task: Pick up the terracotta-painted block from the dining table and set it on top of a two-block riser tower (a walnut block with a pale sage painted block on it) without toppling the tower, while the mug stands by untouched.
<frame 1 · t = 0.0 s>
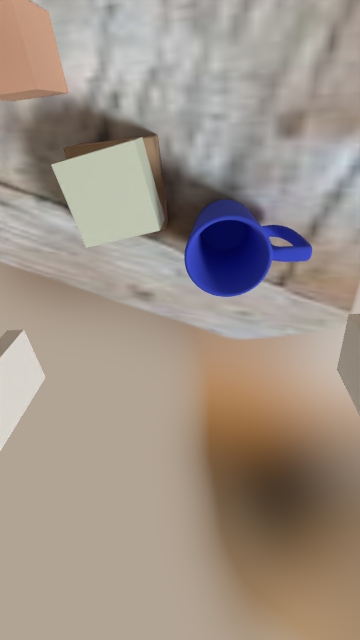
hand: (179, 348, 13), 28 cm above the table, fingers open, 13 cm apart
riser lower: (125, 183, 37), on the table, touching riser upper
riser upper: (117, 190, 33), point 4 cm above the table, touching riser lower
mug: (239, 226, 38), on the table
clay block: (30, 59, 31), on the table
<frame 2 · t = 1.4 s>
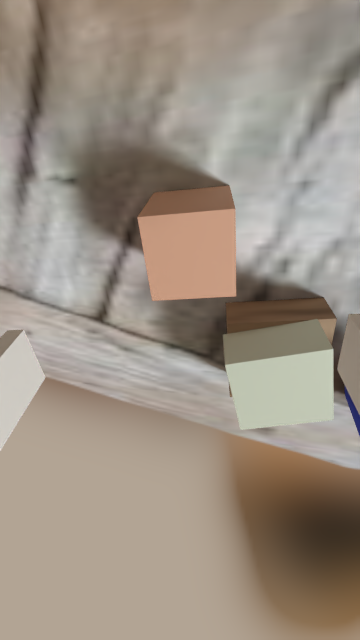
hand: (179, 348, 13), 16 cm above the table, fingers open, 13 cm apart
riser lower: (270, 336, 33), on the table, touching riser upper
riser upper: (273, 361, 29), point 4 cm above the table, touching riser lower
clay block: (194, 226, 27), on the table
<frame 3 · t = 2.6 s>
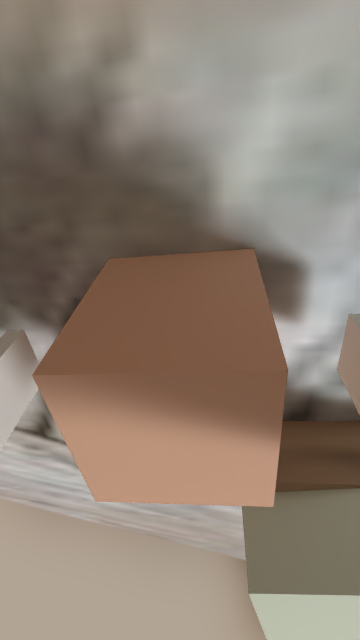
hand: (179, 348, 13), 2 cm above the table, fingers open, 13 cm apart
riser lower: (310, 461, 21), on the table, touching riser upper
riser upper: (325, 528, 17), point 4 cm above the table, touching riser lower
clay block: (186, 314, 15), on the table
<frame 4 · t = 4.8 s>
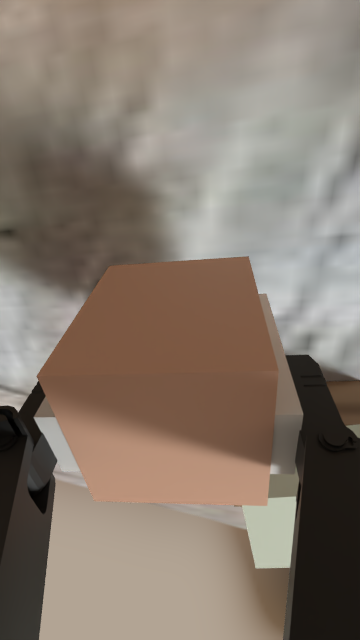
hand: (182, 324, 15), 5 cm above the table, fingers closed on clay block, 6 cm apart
riser lower: (287, 423, 25), on the table, touching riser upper
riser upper: (301, 469, 21), point 4 cm above the table, touching riser lower
clay block: (183, 320, 15), point 4 cm above the table, touching gripper
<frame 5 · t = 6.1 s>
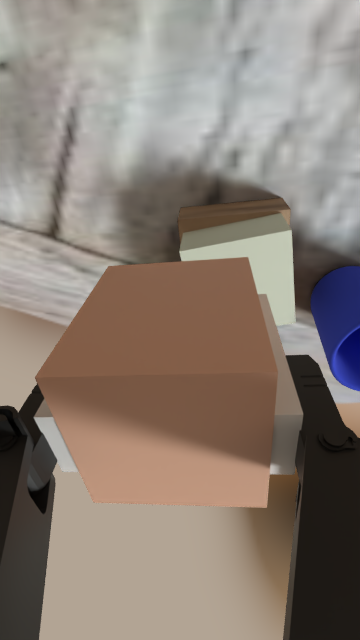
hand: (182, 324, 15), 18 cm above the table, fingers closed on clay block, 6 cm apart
riser lower: (231, 248, 31), on the table, touching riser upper
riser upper: (237, 267, 28), point 4 cm above the table, touching riser lower
clay block: (183, 320, 15), point 17 cm above the table, touching gripper
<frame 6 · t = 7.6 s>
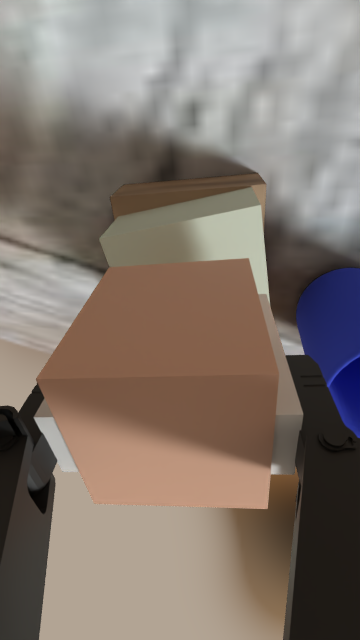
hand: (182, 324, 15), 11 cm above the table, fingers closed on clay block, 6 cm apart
riser lower: (194, 242, 24), on the table, touching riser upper
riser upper: (195, 264, 21), point 4 cm above the table, touching riser lower
clay block: (183, 321, 15), point 10 cm above the table, touching gripper
when the fingers open (8 cm above the table, at t = 8.8 s): clay block stays where it is, resting on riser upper.
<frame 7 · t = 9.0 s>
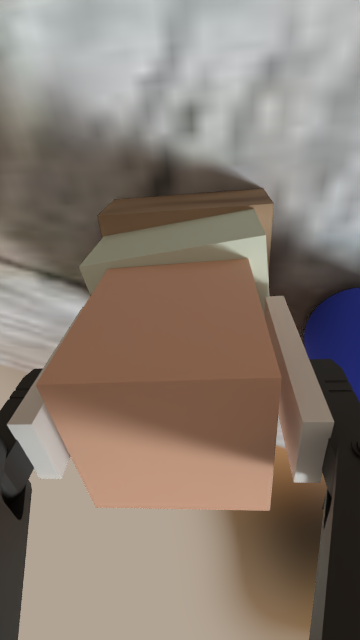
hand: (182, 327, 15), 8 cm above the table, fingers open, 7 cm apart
riser lower: (192, 261, 22), on the table, touching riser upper
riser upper: (190, 290, 19), point 4 cm above the table, touching clay block, riser lower
clay block: (183, 322, 15), point 8 cm above the table, touching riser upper
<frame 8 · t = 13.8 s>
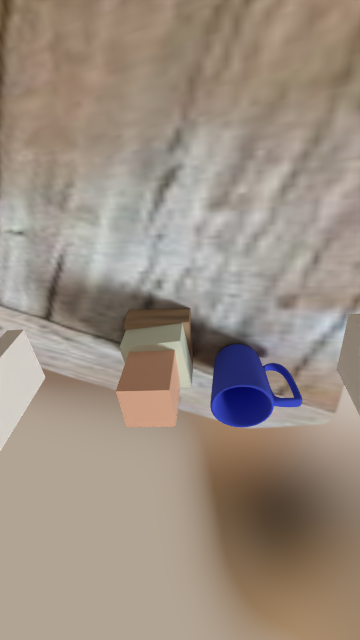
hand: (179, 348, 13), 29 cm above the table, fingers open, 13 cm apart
riser lower: (162, 332, 49), on the table, touching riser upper
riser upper: (160, 349, 46), point 4 cm above the table, touching clay block, riser lower
mug: (248, 357, 50), on the table
clay block: (155, 368, 42), point 8 cm above the table, touching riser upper
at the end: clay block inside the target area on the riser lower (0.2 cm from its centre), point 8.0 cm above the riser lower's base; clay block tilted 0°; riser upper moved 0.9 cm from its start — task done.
